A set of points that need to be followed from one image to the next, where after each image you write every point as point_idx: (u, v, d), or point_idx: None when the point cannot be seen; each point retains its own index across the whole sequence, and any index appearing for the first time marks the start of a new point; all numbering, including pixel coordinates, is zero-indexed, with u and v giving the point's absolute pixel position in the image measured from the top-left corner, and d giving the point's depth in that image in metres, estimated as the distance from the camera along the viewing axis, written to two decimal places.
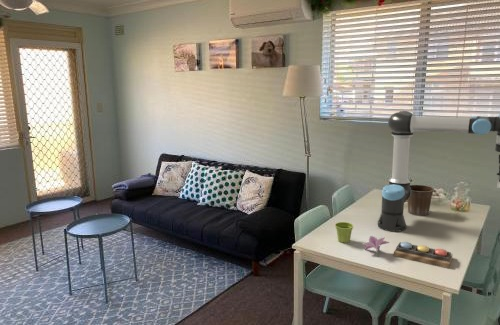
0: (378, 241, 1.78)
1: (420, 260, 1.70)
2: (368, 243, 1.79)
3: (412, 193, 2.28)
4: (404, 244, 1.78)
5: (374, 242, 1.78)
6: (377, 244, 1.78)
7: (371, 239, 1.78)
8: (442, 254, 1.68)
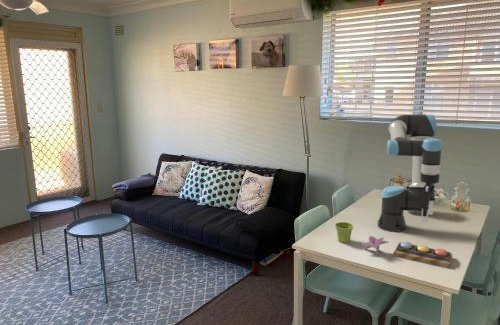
0: (378, 241, 1.78)
1: (420, 260, 1.70)
2: (368, 243, 1.79)
3: None
4: (404, 244, 1.78)
5: (374, 242, 1.78)
6: (377, 244, 1.78)
7: (371, 239, 1.78)
8: (442, 254, 1.68)
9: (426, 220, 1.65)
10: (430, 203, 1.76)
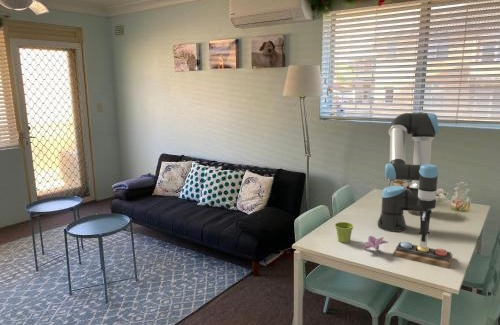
0: (377, 241, 1.78)
1: (420, 260, 1.70)
2: (367, 243, 1.80)
3: None
4: (404, 244, 1.78)
5: (373, 242, 1.79)
6: (376, 244, 1.78)
7: (370, 239, 1.78)
8: (442, 254, 1.68)
9: (425, 245, 1.73)
10: None
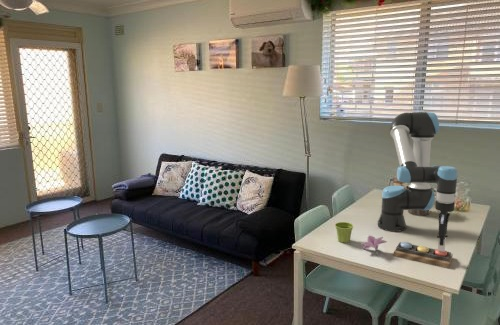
0: (376, 240, 1.78)
1: (420, 260, 1.70)
2: (366, 242, 1.80)
3: None
4: (404, 244, 1.78)
5: (372, 241, 1.79)
6: (375, 243, 1.79)
7: (369, 238, 1.78)
8: (442, 254, 1.68)
9: (443, 249, 1.68)
10: None
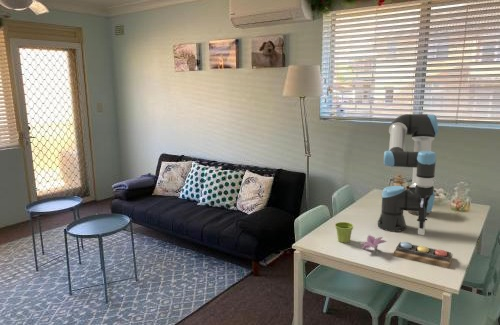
0: (376, 240, 1.79)
1: (420, 260, 1.70)
2: (366, 242, 1.80)
3: None
4: (404, 244, 1.78)
5: (372, 241, 1.79)
6: (375, 243, 1.79)
7: (369, 238, 1.79)
8: (442, 255, 1.68)
9: (423, 232, 1.73)
10: None
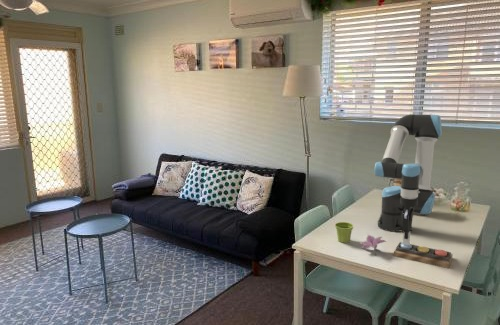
0: (375, 240, 1.79)
1: (420, 260, 1.70)
2: (366, 242, 1.80)
3: None
4: (404, 245, 1.78)
5: (371, 241, 1.79)
6: (374, 243, 1.79)
7: (369, 238, 1.79)
8: (442, 255, 1.68)
9: (407, 242, 1.77)
10: None
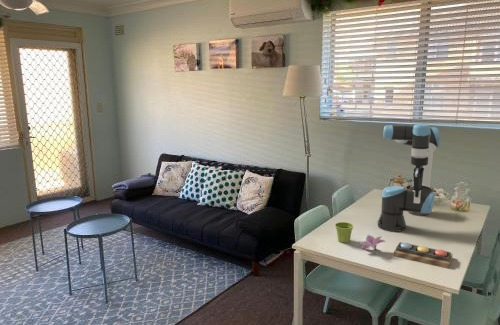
0: (375, 240, 1.79)
1: (420, 260, 1.70)
2: (365, 242, 1.80)
3: None
4: (404, 245, 1.78)
5: (371, 241, 1.80)
6: (374, 243, 1.79)
7: (368, 238, 1.79)
8: (442, 255, 1.68)
9: (418, 200, 1.84)
10: None
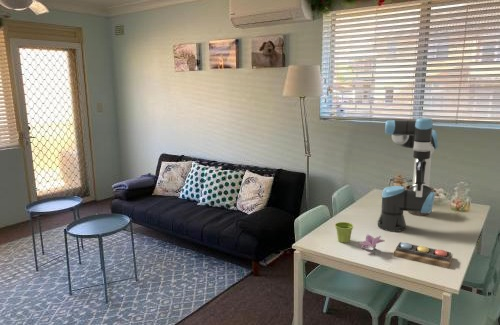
0: (374, 240, 1.79)
1: (420, 260, 1.70)
2: (365, 242, 1.81)
3: None
4: (404, 245, 1.78)
5: (370, 241, 1.80)
6: (373, 243, 1.80)
7: (368, 238, 1.79)
8: (442, 255, 1.68)
9: (420, 194, 1.85)
10: None
